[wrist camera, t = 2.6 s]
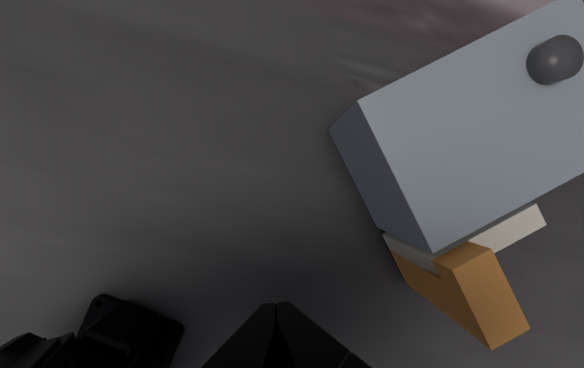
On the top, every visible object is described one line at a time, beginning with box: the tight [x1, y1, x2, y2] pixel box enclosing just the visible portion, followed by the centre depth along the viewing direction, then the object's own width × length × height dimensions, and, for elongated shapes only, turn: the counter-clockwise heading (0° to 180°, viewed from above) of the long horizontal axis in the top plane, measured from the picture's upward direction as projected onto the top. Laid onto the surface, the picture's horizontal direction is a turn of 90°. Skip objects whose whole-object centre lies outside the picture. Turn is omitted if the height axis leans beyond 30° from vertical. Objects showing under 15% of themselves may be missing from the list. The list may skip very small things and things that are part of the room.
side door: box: [382, 203, 546, 350], centre depth 17 cm, size 6×4×8 cm, turn 117°
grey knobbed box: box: [328, 0, 584, 253], centre depth 17 cm, size 14×8×8 cm, turn 117°
